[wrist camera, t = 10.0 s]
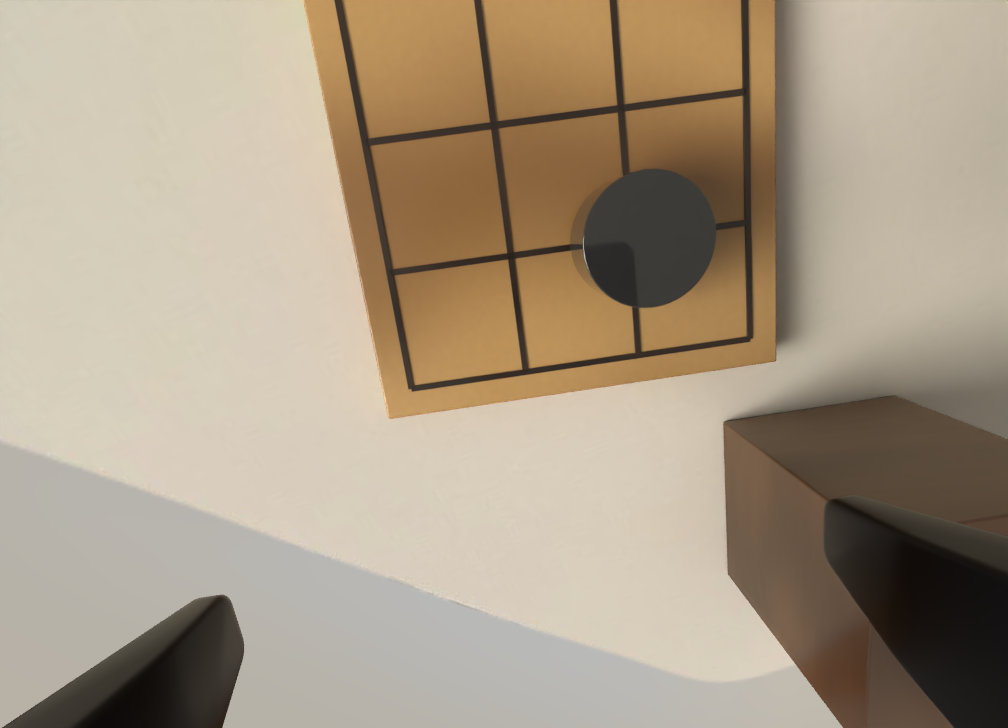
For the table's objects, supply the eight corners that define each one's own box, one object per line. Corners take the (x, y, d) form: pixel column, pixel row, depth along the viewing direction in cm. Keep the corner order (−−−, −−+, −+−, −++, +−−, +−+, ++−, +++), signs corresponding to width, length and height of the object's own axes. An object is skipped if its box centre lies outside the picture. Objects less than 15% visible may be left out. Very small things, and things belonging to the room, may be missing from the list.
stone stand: (886, 548, 23) (1104, 715, 15) (727, 574, 22) (863, 756, 15) (895, 394, 21) (1148, 493, 13) (722, 421, 21) (874, 536, 13)
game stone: (692, 290, 18) (718, 298, 16) (576, 307, 18) (589, 317, 16) (686, 167, 17) (714, 159, 15) (563, 184, 17) (576, 178, 15)
